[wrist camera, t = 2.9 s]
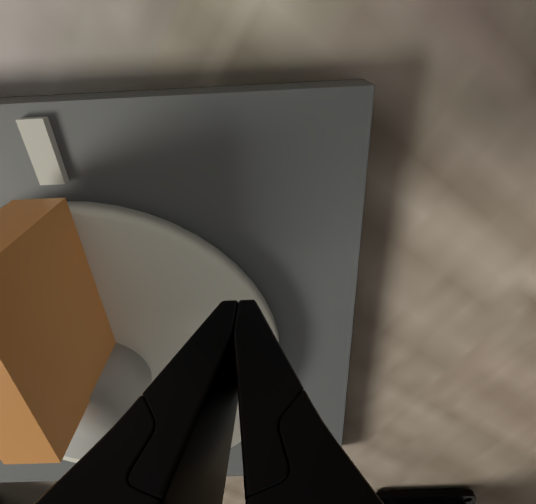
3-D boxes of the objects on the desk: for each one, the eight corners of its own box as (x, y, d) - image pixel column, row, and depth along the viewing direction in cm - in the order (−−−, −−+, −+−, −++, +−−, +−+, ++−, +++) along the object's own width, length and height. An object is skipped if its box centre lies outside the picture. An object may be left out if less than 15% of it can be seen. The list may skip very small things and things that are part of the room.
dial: (284, 446, 19) (290, 581, 15) (17, 454, 20) (-62, 589, 15) (273, 176, 12) (277, 275, 7) (-157, 196, 12) (-427, 303, 7)
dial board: (363, 79, 12) (377, 86, 10) (335, 447, 22) (339, 478, 21) (-244, 110, 12) (-316, 121, 11) (3, 456, 23) (-16, 488, 21)
